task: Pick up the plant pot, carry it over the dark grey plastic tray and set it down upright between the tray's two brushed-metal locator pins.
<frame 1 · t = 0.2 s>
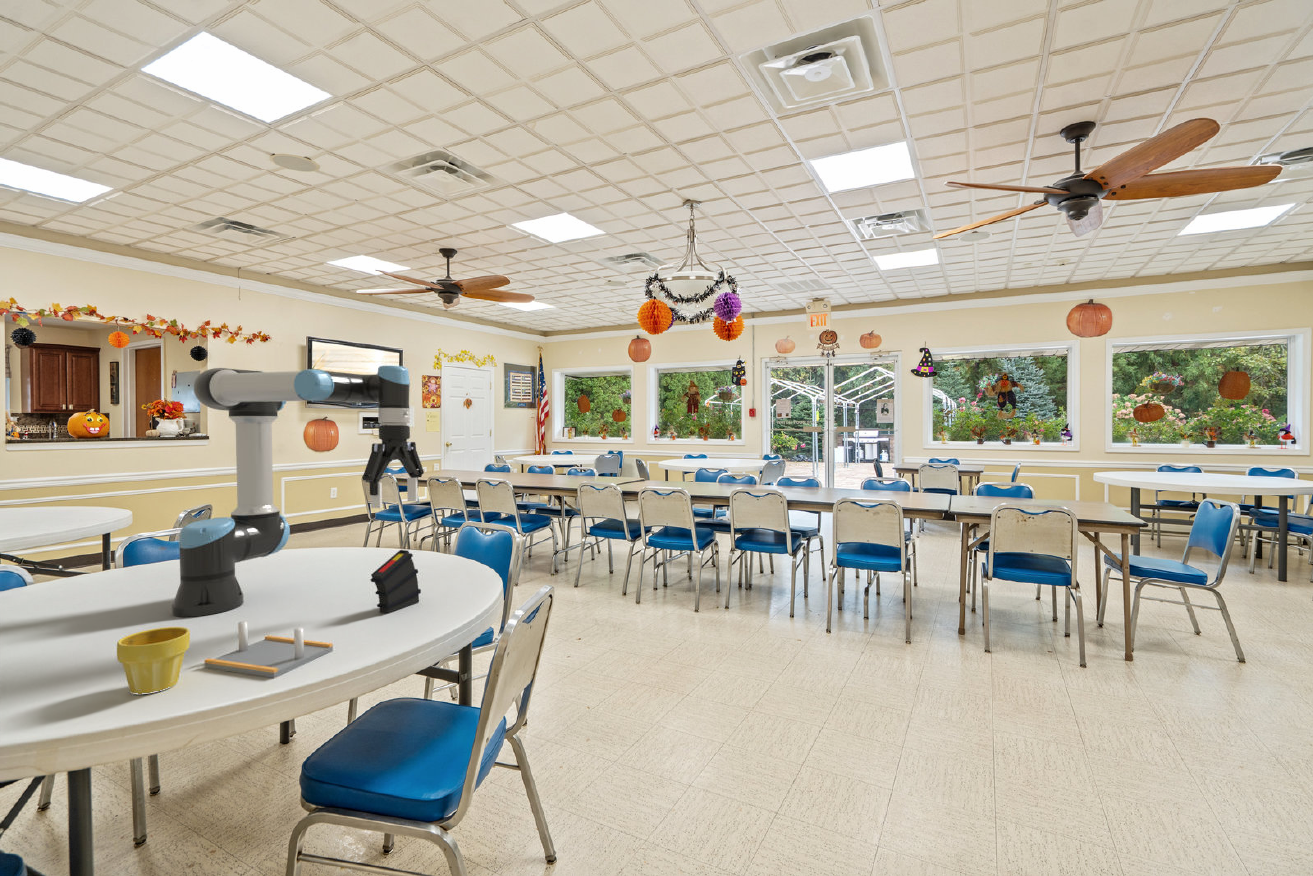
hand: (395, 504, 154), 28 cm above the table, fingers open, 13 cm apart
tray: (270, 658, 121), on the table
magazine: (396, 609, 154), on the table
plant pot: (155, 688, 108), on the table
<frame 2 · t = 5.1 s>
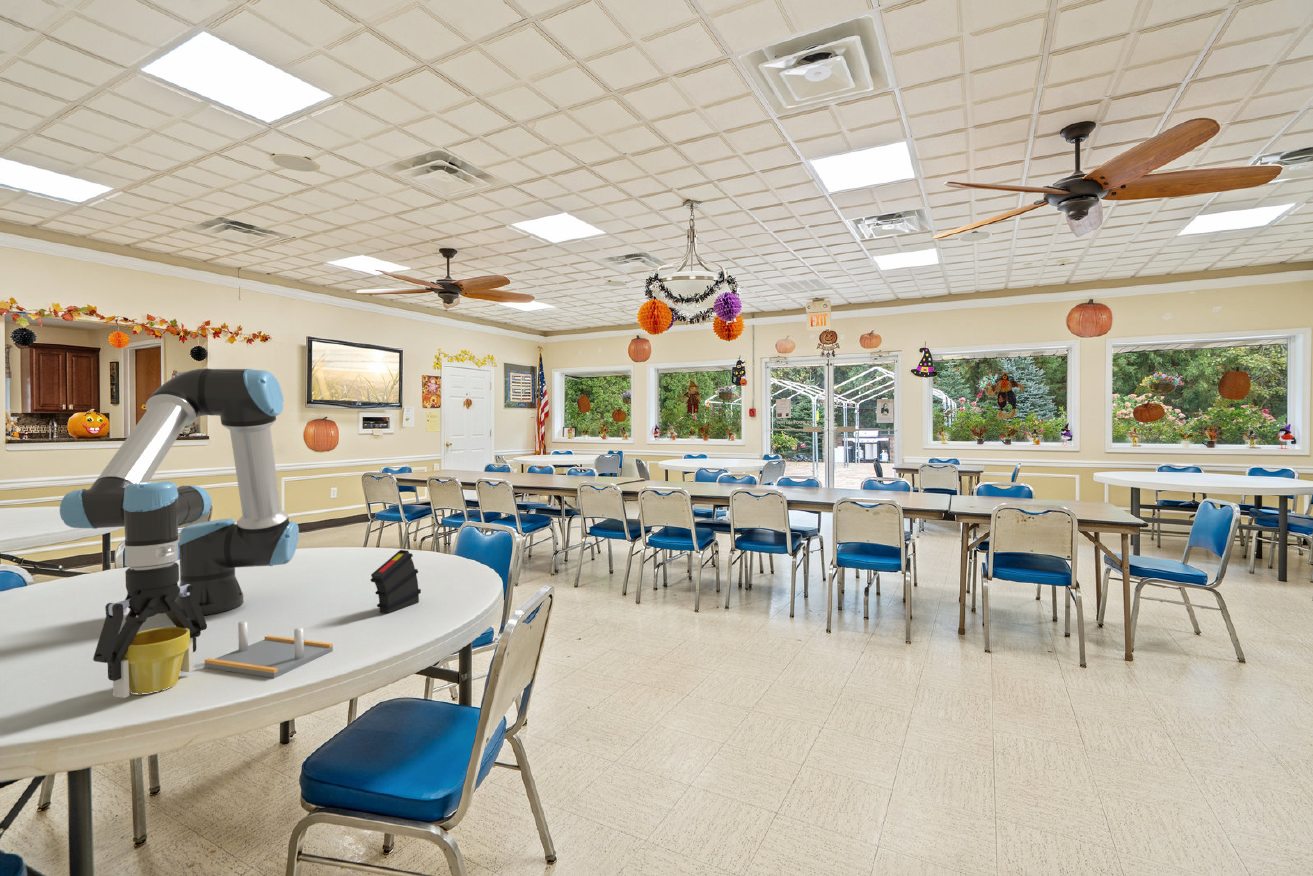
hand: (155, 682, 108), 1 cm above the table, fingers closed on plant pot, 10 cm apart
plant pot: (155, 688, 108), on the table, touching gripper
everything else where it was.
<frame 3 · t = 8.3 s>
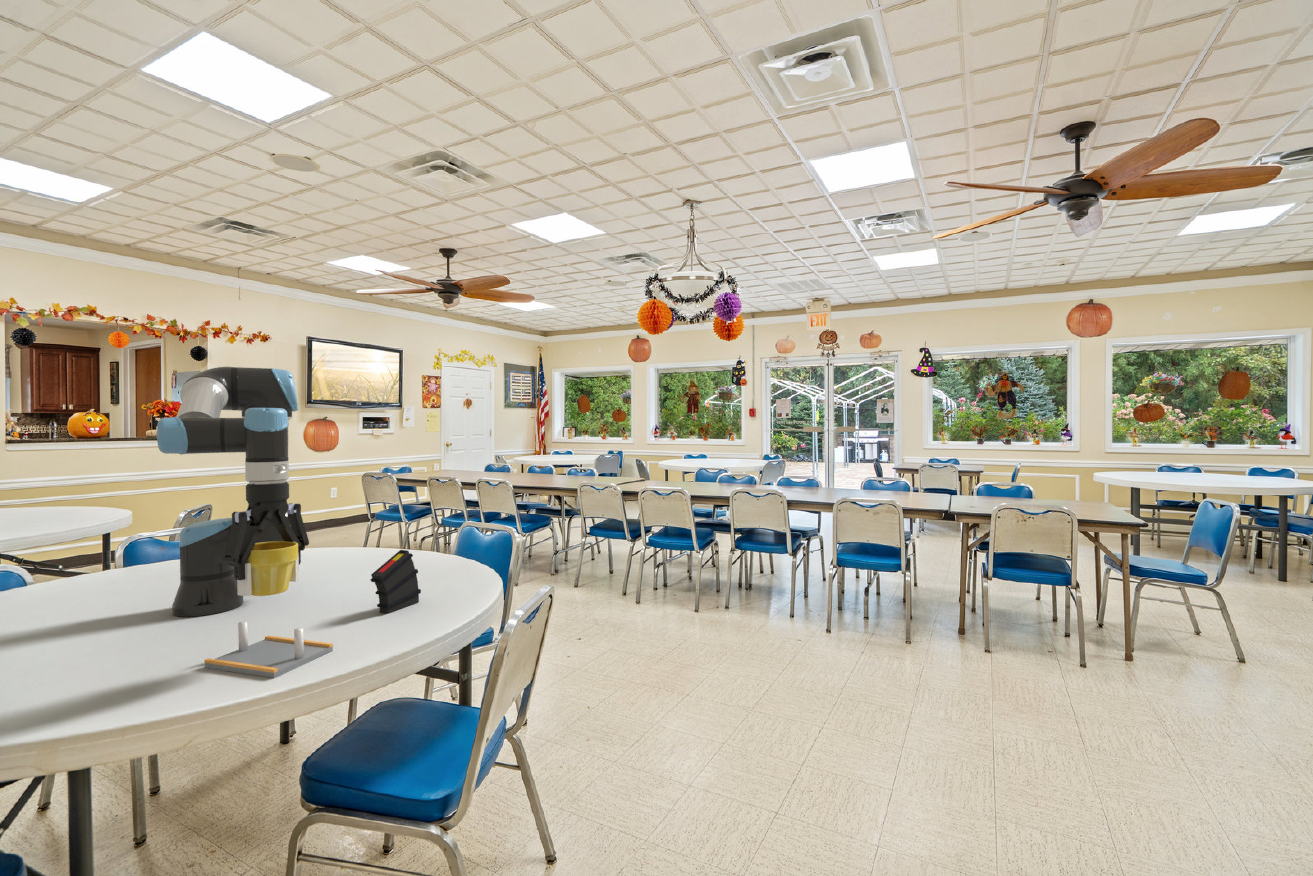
hand: (269, 587, 121), 15 cm above the table, fingers closed on plant pot, 10 cm apart
plant pot: (269, 592, 121), point 14 cm above the table, touching gripper
everything else where it was.
when the fingers open (3 cm above the table, at t = 11.4 s): plant pot stays where it is, resting on tray.
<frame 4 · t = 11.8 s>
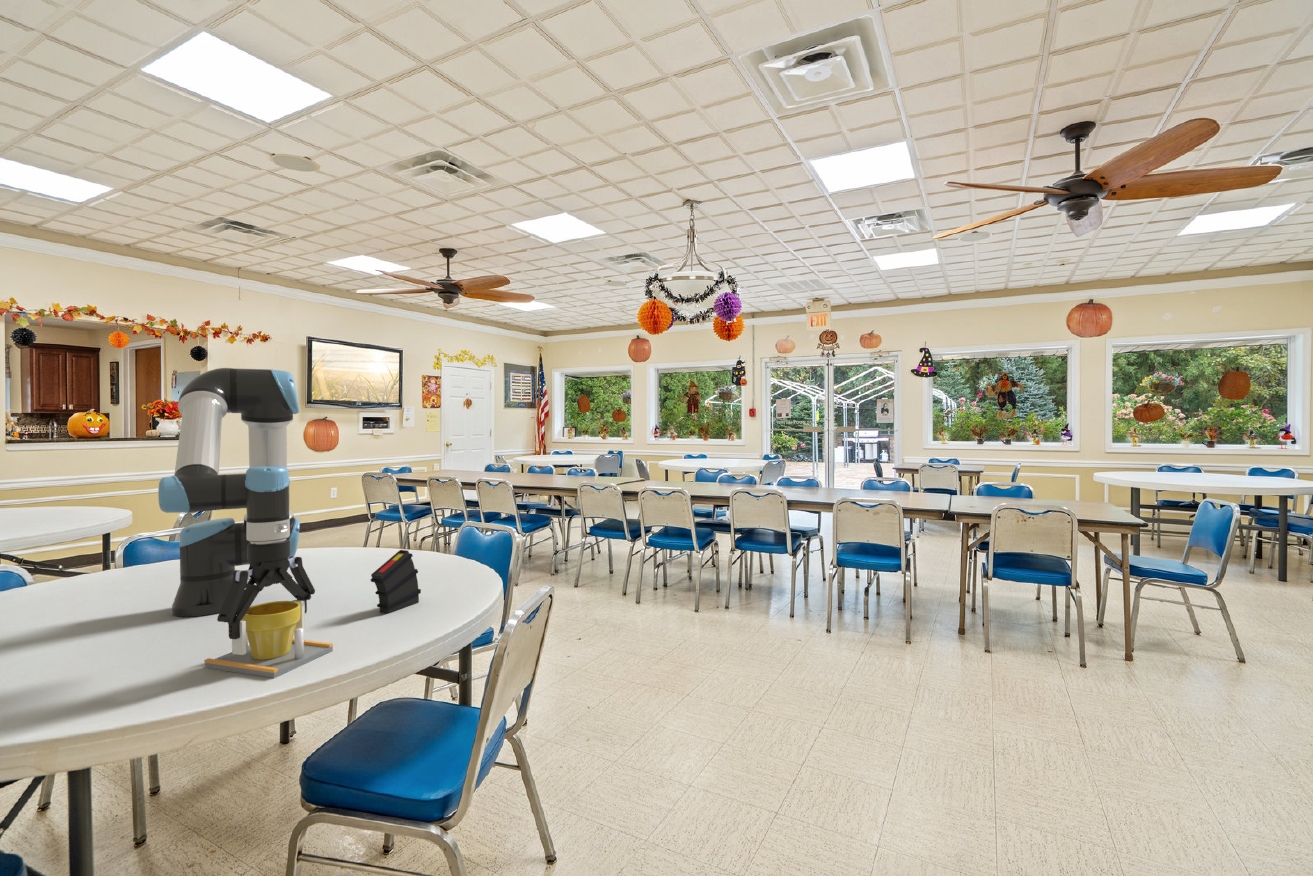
hand: (270, 641, 121), 4 cm above the table, fingers open, 13 cm apart
plant pot: (272, 654, 121), point 1 cm above the table, touching tray
everything else where it was.
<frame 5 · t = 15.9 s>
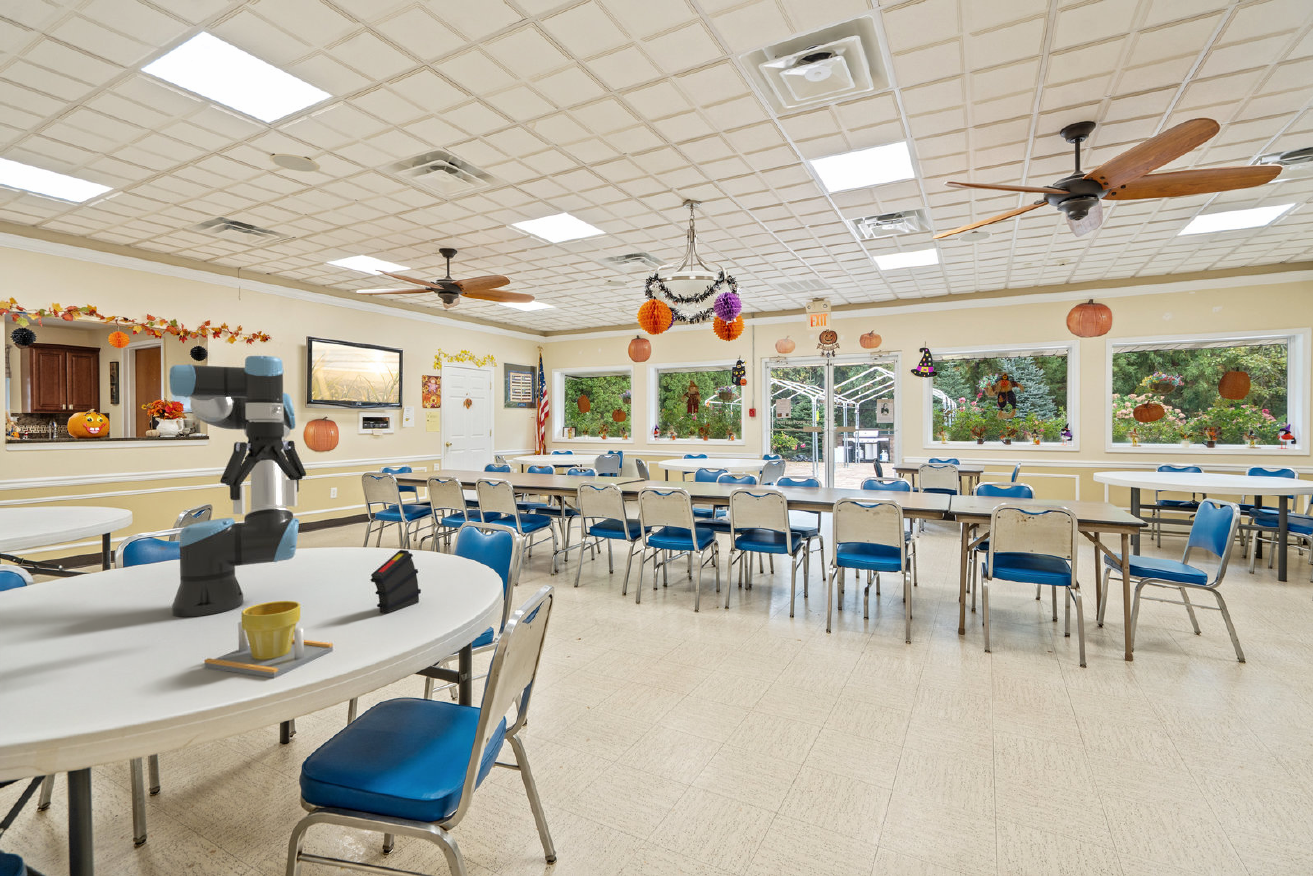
hand: (266, 509, 139), 29 cm above the table, fingers open, 13 cm apart
nothing on the table moved.
at the end: plant pot inside the target area on the tray (0.3 cm from its centre), point 0.8 cm above the tray's base; plant pot tilted 0°; the gripper is holding nothing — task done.
